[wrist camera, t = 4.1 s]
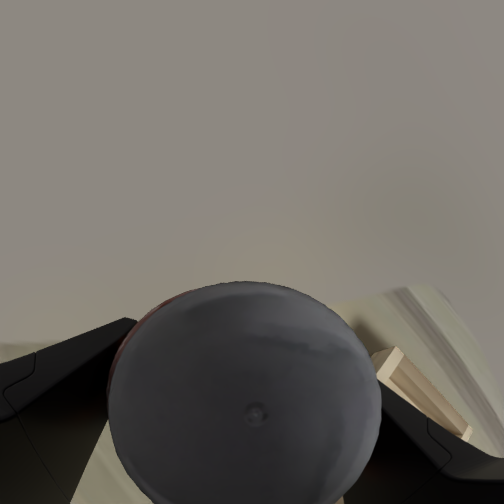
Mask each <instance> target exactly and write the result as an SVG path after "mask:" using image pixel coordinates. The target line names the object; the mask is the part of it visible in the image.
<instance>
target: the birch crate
mask: <svg viewBox="0 0 504 504" xmlns="http://www.w3.org/2000/svg"><path fill="white" fill-rule="evenodd" d="M371 360H372V363H373V365H374V368H375V371H376V375H377V379H378V380H380V381H381V382H382V383H383V384H385V385H386V386H387V387H389V388H390V389H391V390H393V391H394V392H395V393H397V394H398V395H400V396H401V397H402V398H404V399H405V400H406V401H408V402H409V403H410V404H412V405H413V406H414V407H416V408H417V409H418V410H420V411H421V412H423V413H424V414H425V415H426V416H427V417H429V418H431V419H432V420H434V421H435V422H436V423H438V424H439V425H441V426H442V427H443V428H445V429H446V430H448V431H449V432H451V433H453V434H454V435H456V436H457V437H459V438H461V439H462V440H464V441H466V442H467V441H468V439H469V437H470V436H471V434H472V432H473V429H472V428H471V427H470V426H469V425H468V423H467V422H466V421H465V420H464V419H463V418H462V417H461V416H460V414H459V413H458V412H457V411H456V410H455V409H454V408H453V407H452V405H451V404H450V403H449V402H448V401H447V400H446V399H445V398H444V397H443V396H442V394H441V393H440V392H439V391H438V390H437V389H436V388H435V387H434V386H433V385H432V384H431V382H430V381H429V380H428V379H427V378H426V377H425V376H424V375H423V374H422V373H421V372H420V371H419V370H418V369H417V367H416V366H415V365H414V364H413V363H412V362H411V361H410V360H409V359H408V358H407V357H406V356H405V355H404V354H403V353H402V352H401V351H400V350H399V348H398V347H397V346H394V347H391V348H388V349H385V350H382V351H379V352H376V353H374V354H373V355H372V356H371ZM335 504H344V501H343V496H342V497H341V498H340V499H339V500H338V501H337V502H336V503H335Z"/></svg>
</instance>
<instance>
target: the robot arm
mask: <svg viewBox="0 0 504 504" xmlns="http://www.w3.org/2000/svg"><path fill="white" fill-rule="evenodd" d="M137 323H138V322H137V320H134V319H130V318H126V317H124V318H122V319H119V320H117V321H114V322H111V323H109V324H106V325H104V326H101V327H99V328H96V329H94V330H91V331H88V332H86V333H83V334H81V335H78V336H75V337H73V338H70V339H68V340H65V341H62V342H60V343H57V344H55V345H52V346H49V347H47V348H44V349H41V350H39V351H37V352H36V353H35V352H33V353H31V354H28V355H25V356H23V357H20V358H17V359H14V360H11V361H8V362H4V363H1V364H0V504H70V502H71V500H72V498H73V495H74V493H75V490H76V488H77V486H78V483H79V481H80V479H81V477H82V474H83V472H84V470H85V467H86V465H87V463H88V461H89V459H90V456H91V454H92V452H93V450H94V448H95V446H96V443H97V441H98V439H99V437H100V435H101V433H102V431H103V429H104V427H105V424H106V422H107V420H108V411H107V395H106V388H107V383H108V374H109V371H110V368H111V365H112V362H113V360H114V357H115V354H116V353H117V351H118V349H119V347H120V345H121V344H122V342H123V341H124V339H125V338H126V337H127V335H128V333H129V332H130V331H131V330H132V328H133V327H134V326H135V325H136V324H137ZM377 381H378V383H379V386H380V389H381V399H382V403H381V423H380V427H379V435H378V438H377V441H376V444H375V446H374V449H373V452H372V455H371V457H370V459H369V461H368V462H367V464H366V466H365V468H364V470H363V471H362V473H361V475H360V477H359V478H358V480H357V481H356V482H355V483H354V485H353V486H352V487H351V488H350V489H349V490H348V491H347V492H346V493H345V494H344V495H343V501H344V504H504V458H498V457H493V456H490V455H488V454H486V453H485V452H483V451H481V450H479V449H478V448H476V447H474V446H473V445H471V444H469V443H467V442H466V441H464V440H462V439H461V438H459V437H457V436H456V435H454V434H453V433H451V432H449V431H448V430H446V429H445V428H443V427H442V426H441V425H439V424H438V423H436V422H435V421H434V420H432V419H431V418H429V417H427V416H426V415H425V414H424V413H423V412H421V411H420V410H418V409H417V408H416V407H414V406H413V405H412V404H410V403H409V402H408V401H406V400H405V399H404V398H402V397H401V396H400V395H398V394H397V393H395V392H394V391H393V390H391V389H390V388H389V387H387V386H386V385H385V384H383V383H382V382H381V381H380V380H378V379H377Z"/></svg>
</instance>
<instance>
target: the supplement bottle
mask: <svg viewBox="0 0 504 504" xmlns="http://www.w3.org/2000/svg"><path fill="white" fill-rule="evenodd" d="M106 395H107V411H108V420H109V425H110V431H111V435H112V439H113V443H114V446H115V450H116V453H117V455H118V457H119V459H120V461H121V463H122V465H123V467H124V469H125V471H126V472H127V474H128V475H129V477H130V478H131V479H132V480H133V481H134V483H135V484H136V485H137V486H138V488H139V489H140V490H141V491H142V492H143V493H144V494H145V495H146V496H147V497H148V498H149V499H150V500H151V501H152V502H153V503H154V504H335V503H336V502H337V501H338V500H339V499H340V498H341V497H342V496H343V495H344V494H345V493H346V492H347V491H348V490H349V489H350V488H351V487H352V486H353V485H354V483H355V482H356V481H357V480H358V478H359V477H360V475H361V473H362V471H363V470H364V468H365V466H366V464H367V462H368V461H369V459H370V457H371V455H372V452H373V449H374V446H375V444H376V441H377V438H378V435H379V427H380V423H381V403H382V399H381V389H380V386H379V383H378V381H377V375H376V371H375V368H374V365H373V363H372V360H371V358H370V356H369V353H368V351H367V349H366V348H365V346H364V344H363V343H362V341H361V340H360V339H359V338H358V337H357V336H356V334H355V333H354V331H353V330H352V329H351V328H350V327H349V326H348V325H347V324H346V323H345V321H344V320H343V319H342V318H341V317H340V316H339V315H338V314H336V313H335V312H334V311H333V310H331V309H329V308H327V307H326V306H325V305H324V304H322V303H321V302H319V301H317V300H315V299H314V298H312V297H310V296H309V295H306V294H303V293H301V292H299V291H297V290H294V289H291V288H288V287H285V286H280V285H275V284H270V283H266V282H250V281H242V282H238V281H235V282H229V283H220V284H216V285H211V286H205V287H202V288H199V289H194V290H190V291H187V292H184V293H182V294H179V295H177V296H175V297H173V298H171V299H169V300H166V301H165V302H163V303H161V304H160V305H158V306H157V307H156V308H154V309H152V310H151V311H150V312H148V313H147V314H146V315H145V316H144V317H143V318H142V319H141V320H140V321H139V322H138V323H137V324H136V325H135V326H134V327H133V328H132V330H131V331H130V332H129V333H128V335H127V337H126V338H125V339H124V341H123V342H122V344H121V345H120V347H119V349H118V351H117V353H116V354H115V357H114V360H113V362H112V365H111V368H110V371H109V374H108V383H107V388H106Z"/></svg>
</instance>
